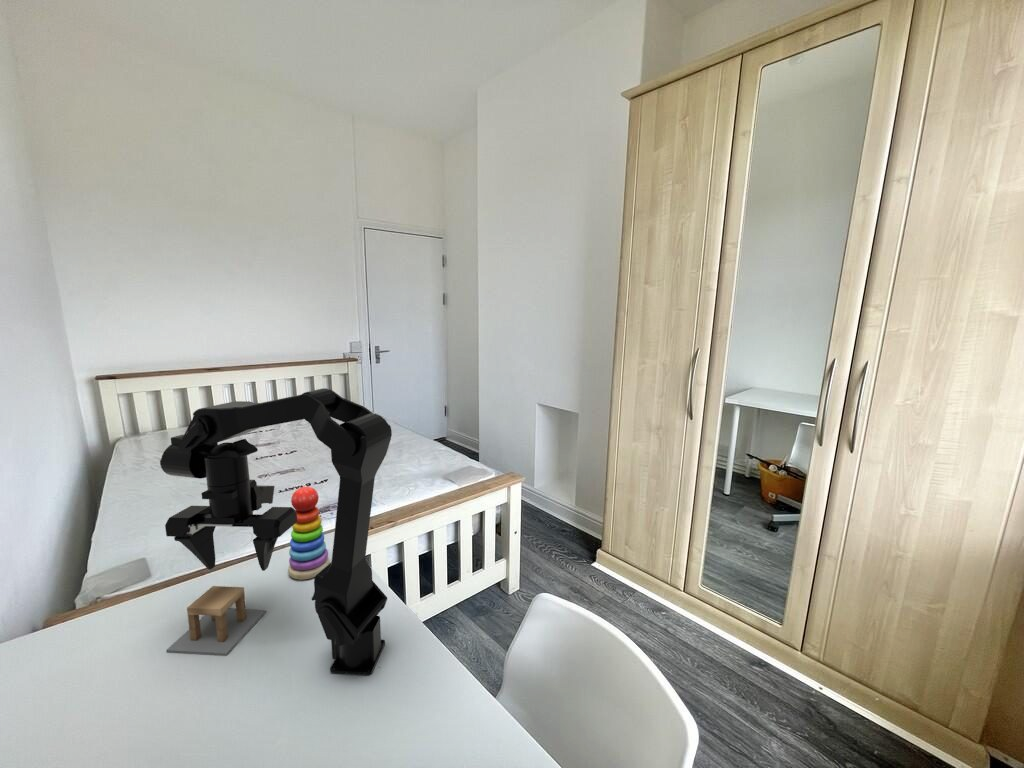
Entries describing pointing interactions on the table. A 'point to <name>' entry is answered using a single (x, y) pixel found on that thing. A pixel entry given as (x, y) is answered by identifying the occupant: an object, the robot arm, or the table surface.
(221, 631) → the stool
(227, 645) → the mat
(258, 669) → the table surface
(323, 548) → the stacking toy
